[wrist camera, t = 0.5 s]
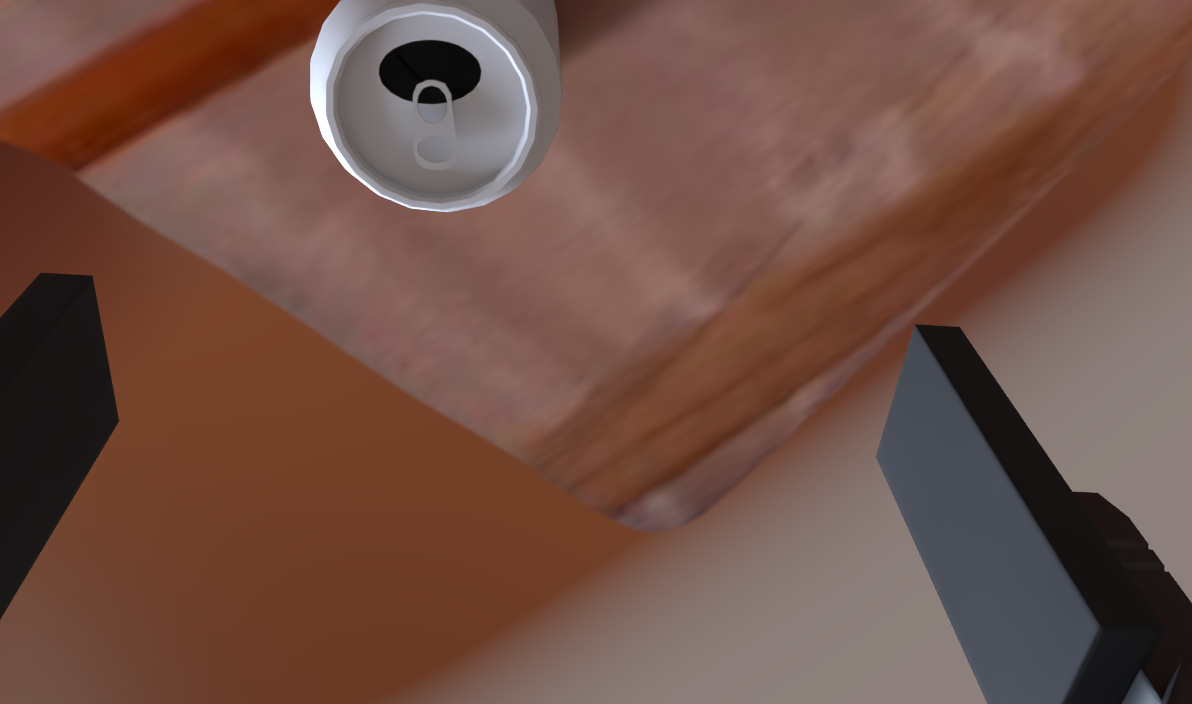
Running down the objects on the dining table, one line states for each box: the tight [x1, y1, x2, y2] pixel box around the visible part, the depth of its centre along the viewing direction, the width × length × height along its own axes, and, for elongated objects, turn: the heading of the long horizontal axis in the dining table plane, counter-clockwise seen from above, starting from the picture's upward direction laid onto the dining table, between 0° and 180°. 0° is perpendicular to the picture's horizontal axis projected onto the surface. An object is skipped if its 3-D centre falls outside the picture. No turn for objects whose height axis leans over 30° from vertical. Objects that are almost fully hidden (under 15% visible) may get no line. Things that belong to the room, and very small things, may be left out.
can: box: [310, 0, 562, 212], centre depth 34 cm, size 8×8×12 cm
